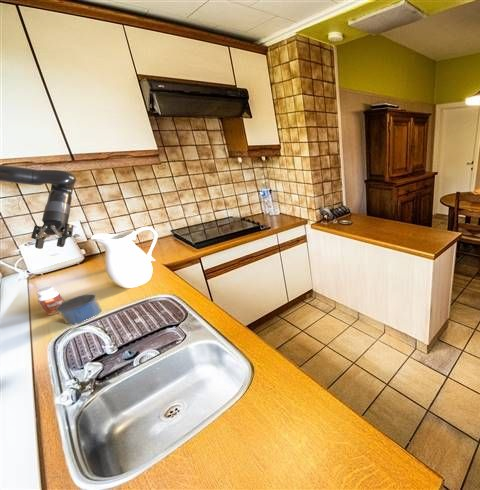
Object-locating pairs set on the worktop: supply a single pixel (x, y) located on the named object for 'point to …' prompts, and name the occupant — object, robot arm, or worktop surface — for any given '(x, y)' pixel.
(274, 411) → the worktop surface
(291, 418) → the worktop surface
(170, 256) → the worktop surface
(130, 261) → the pitcher
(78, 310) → the crock
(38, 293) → the pill bottle
